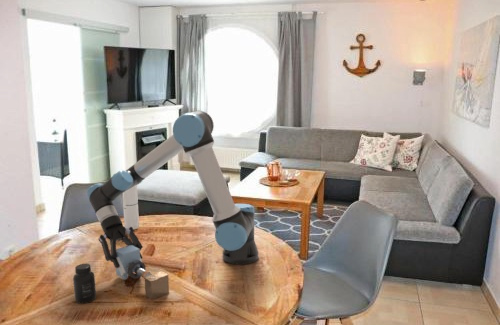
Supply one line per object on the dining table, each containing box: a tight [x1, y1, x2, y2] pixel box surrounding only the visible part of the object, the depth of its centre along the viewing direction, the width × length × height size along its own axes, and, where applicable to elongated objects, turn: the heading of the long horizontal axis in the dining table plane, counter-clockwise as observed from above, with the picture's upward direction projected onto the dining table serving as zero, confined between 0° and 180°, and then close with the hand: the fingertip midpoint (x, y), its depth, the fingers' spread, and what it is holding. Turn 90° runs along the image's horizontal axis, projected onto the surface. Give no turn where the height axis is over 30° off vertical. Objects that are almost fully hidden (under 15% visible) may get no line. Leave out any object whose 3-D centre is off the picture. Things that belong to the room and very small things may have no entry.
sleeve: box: [115, 245, 141, 281], centre depth 159 cm, size 6×7×10 cm
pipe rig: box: [127, 263, 170, 301], centre depth 153 cm, size 25×7×7 cm, turn 45°
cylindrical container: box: [121, 185, 140, 230], centre depth 211 cm, size 7×7×25 cm
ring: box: [127, 260, 146, 279], centre depth 155 cm, size 2×6×6 cm, turn 135°
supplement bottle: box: [72, 263, 97, 304], centre depth 143 cm, size 7×7×12 cm
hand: (133, 270), depth 157 cm, fingers closed on sleeve, 7 cm apart
